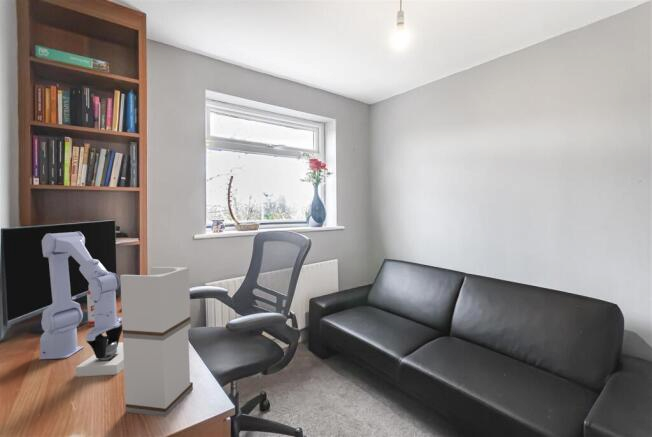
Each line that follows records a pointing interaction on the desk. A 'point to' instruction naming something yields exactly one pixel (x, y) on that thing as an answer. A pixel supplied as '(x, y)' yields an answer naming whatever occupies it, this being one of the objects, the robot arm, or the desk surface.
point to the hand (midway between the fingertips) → (107, 352)
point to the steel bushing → (110, 350)
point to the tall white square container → (156, 339)
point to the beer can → (90, 309)
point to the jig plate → (102, 365)
